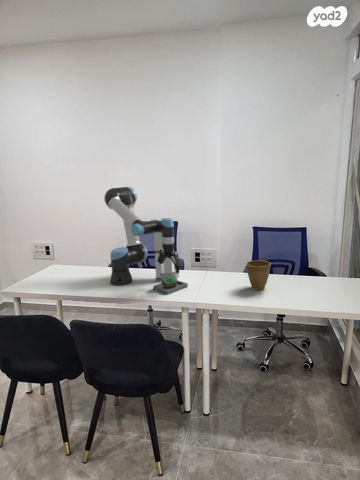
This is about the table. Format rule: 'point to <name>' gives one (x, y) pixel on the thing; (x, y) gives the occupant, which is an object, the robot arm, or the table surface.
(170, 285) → the food container
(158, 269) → the white tall box
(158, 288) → the grey shallow tray
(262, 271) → the plant pot
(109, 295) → the table surface
